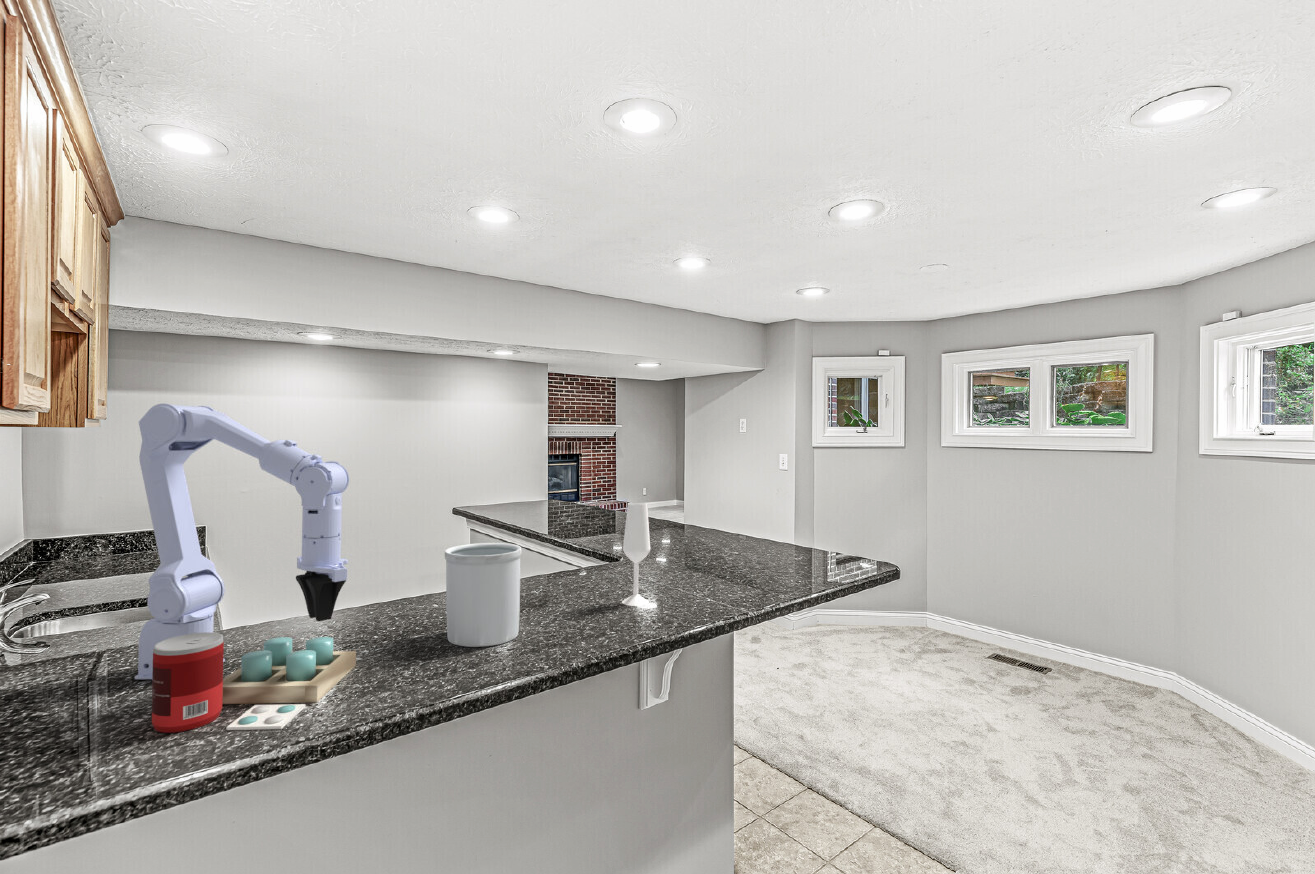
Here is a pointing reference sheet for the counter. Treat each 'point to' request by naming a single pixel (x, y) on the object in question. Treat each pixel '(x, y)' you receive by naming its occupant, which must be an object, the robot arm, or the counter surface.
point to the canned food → (187, 681)
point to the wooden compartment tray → (288, 683)
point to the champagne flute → (636, 545)
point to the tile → (266, 717)
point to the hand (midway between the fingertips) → (320, 618)
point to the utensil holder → (482, 593)
